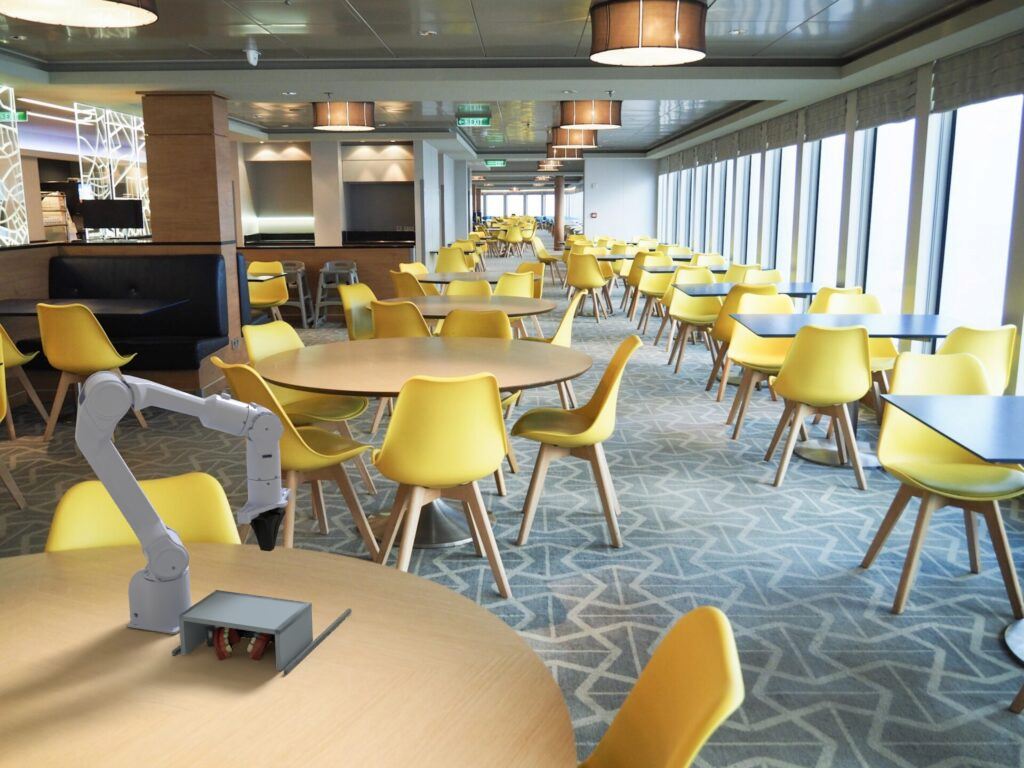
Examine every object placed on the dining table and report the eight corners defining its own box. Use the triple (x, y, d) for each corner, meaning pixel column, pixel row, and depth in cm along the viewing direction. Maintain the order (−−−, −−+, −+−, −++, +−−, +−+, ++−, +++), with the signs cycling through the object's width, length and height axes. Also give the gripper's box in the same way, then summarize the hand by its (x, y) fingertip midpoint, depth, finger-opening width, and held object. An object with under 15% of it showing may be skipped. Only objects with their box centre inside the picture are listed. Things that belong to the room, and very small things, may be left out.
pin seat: (172, 655, 137) (171, 638, 136) (249, 598, 158) (248, 583, 157) (287, 674, 132) (286, 656, 131) (351, 613, 153) (351, 597, 152)
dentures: (265, 633, 135) (208, 632, 135) (267, 662, 136) (210, 661, 136) (278, 616, 141) (223, 615, 142) (279, 644, 142) (224, 643, 142)
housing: (181, 654, 137) (178, 615, 136) (218, 626, 147) (216, 589, 145) (281, 670, 133) (279, 630, 131) (312, 640, 142) (311, 602, 141)
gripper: (262, 490, 145) (265, 567, 147) (305, 467, 158) (307, 538, 161) (224, 486, 146) (228, 562, 149) (270, 463, 160) (273, 534, 163)
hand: (267, 549), depth 155 cm, fingers closed
